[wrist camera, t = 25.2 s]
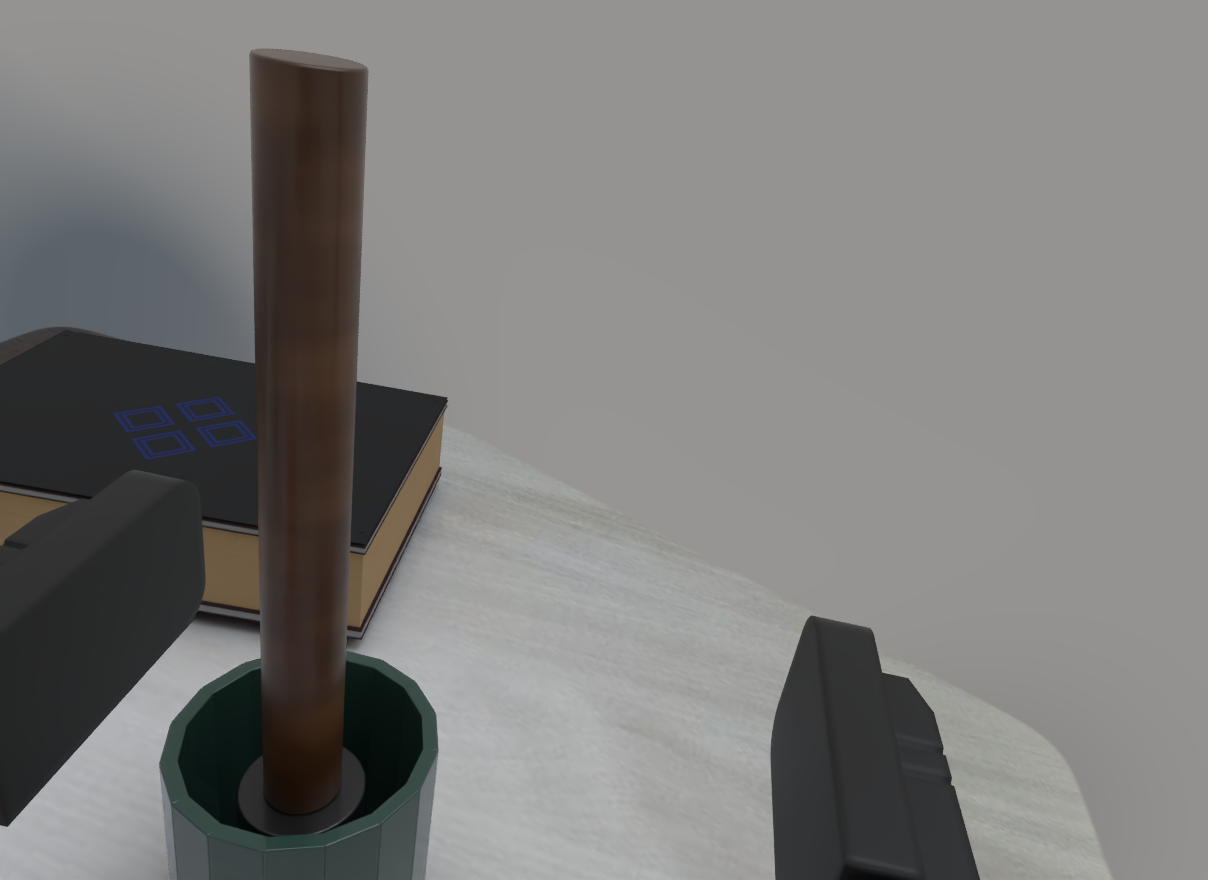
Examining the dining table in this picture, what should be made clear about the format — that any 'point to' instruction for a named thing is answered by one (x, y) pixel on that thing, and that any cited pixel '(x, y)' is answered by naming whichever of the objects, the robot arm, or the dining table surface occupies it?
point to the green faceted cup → (234, 740)
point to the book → (202, 454)
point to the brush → (305, 430)
